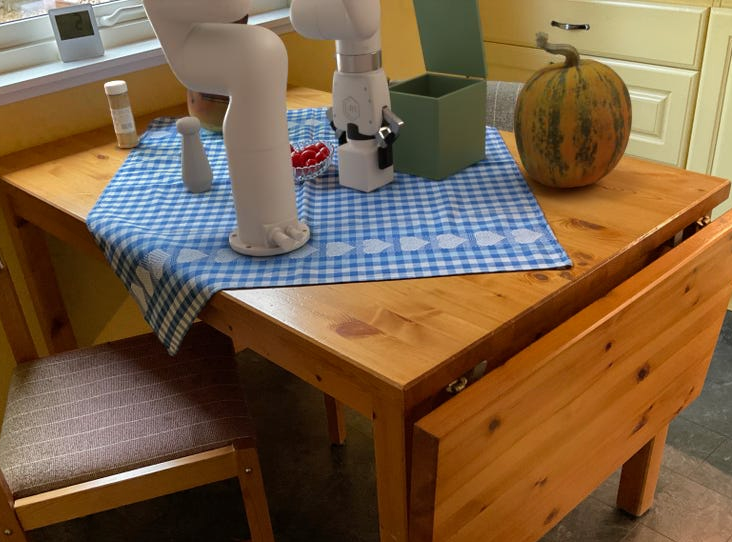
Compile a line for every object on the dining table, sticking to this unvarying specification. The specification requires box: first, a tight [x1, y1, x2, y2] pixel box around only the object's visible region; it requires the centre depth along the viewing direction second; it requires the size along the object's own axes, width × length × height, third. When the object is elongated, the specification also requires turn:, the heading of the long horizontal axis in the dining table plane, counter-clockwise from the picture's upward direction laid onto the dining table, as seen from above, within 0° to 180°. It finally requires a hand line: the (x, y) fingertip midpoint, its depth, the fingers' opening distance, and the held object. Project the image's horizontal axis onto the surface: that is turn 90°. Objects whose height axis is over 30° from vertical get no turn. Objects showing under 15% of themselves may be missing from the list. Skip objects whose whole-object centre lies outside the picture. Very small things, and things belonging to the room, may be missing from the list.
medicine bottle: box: [336, 123, 395, 193], centre depth 140 cm, size 7×7×12 cm
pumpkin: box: [513, 30, 633, 189], centre depth 131 cm, size 19×19×25 cm
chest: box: [382, 72, 488, 182], centre depth 147 cm, size 15×14×14 cm
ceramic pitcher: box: [186, 13, 249, 133], centre depth 173 cm, size 20×20×30 cm
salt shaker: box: [175, 116, 214, 194], centre depth 144 cm, size 6×6×13 cm
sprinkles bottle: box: [103, 80, 140, 149], centre depth 170 cm, size 5×5×13 cm
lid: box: [412, 0, 489, 80], centre depth 143 cm, size 15×14×6 cm
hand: (366, 162), depth 141 cm, fingers open, 8 cm apart
